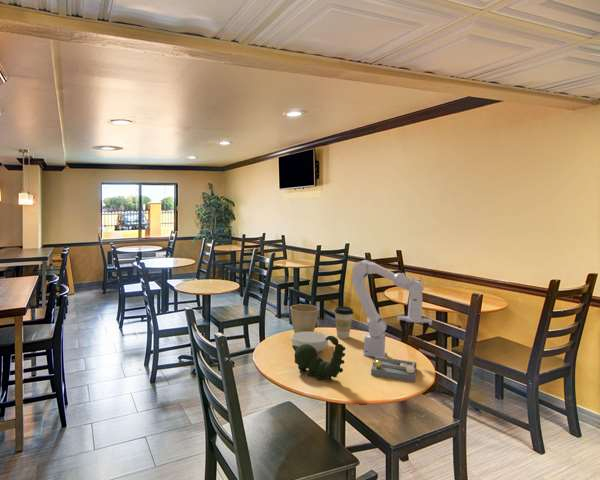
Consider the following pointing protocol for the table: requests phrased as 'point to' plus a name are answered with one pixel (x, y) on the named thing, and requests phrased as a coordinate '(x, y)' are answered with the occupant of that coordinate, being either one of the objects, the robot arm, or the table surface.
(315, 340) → the cereal bowl
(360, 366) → the table surface
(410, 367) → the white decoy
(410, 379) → the grey divided tray
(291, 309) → the plant pot
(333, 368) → the toy figurine
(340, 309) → the coffee cup
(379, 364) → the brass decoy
